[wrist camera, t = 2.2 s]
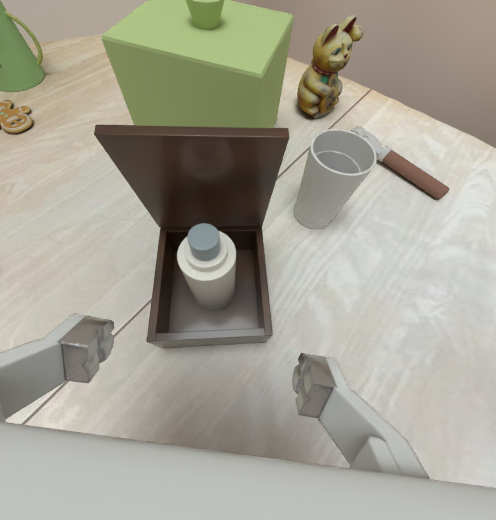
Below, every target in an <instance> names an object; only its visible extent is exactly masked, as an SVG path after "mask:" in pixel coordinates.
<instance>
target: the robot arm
mask: <svg viewBox="0 0 496 520" xmlns="http://www.w3.org/2000/svg"><path fill="white" fill-rule="evenodd" d="M113 329H114V322H113V321H112V320H107V319H102V318H97V317H92V316H85V315H80V314H72V315H70V316H69V317H68V318H67V319H66V320H65V321H63V322H62V323H61V324H60V325H59V326H57V327H56V328H55V329H54V330H53V331H52V332H50V333H49V334H48V335H47V336H46V337H45V338H43V339H42V340H39V339H37V340H34V341H31V342H29V343H26V344H23V345H20V346H18V347H15V348H12V349H9V350H7V351H4V352H1V353H0V520H496V488H492V487H484V486H477V485H469V484H462V483H454V482H447V481H439V480H432V479H430V478H429V477H428V475H427V473H426V471H425V470H424V468H423V466H422V464H421V463H420V461H419V459H418V457H417V456H416V454H415V452H414V450H413V449H412V447H411V445H410V443H409V442H408V440H407V439H405V438H404V437H403V436H402V435H401V434H400V433H399V432H398V431H397V430H396V429H395V428H394V427H393V426H391V425H390V424H389V423H388V422H387V421H386V420H385V419H384V418H383V417H382V416H381V415H380V414H378V413H377V412H376V411H375V410H374V409H373V408H372V407H371V406H370V405H369V404H368V403H367V402H366V401H364V400H363V399H362V398H361V397H360V396H359V395H358V394H357V393H356V392H355V391H354V390H350V388H349V386H348V384H347V382H346V380H345V377H344V375H343V373H342V371H341V369H340V366H339V364H338V362H337V360H336V359H335V358H331V357H325V356H317V355H311V354H305V353H301V354H300V356H299V359H298V361H299V365H298V366H296V367H295V369H294V372H293V379H292V381H293V389H294V391H295V392H296V393H297V394H298V395H297V397H296V404H297V409H298V414H299V415H303V416H308V417H314V418H319V419H318V420H319V421H320V422H321V424H322V425H323V427H324V428H325V430H326V431H327V432H328V434H329V435H330V437H331V438H332V440H333V441H334V442H335V444H336V445H337V447H338V448H339V450H340V451H341V452H342V454H343V455H344V457H345V458H346V460H347V461H348V462H349V464H350V465H351V466H350V468H342V467H335V466H327V465H320V464H313V463H305V462H298V461H290V460H283V459H275V458H267V457H260V456H252V455H245V454H237V453H230V452H222V451H214V450H207V449H200V448H192V447H185V446H177V445H170V444H163V443H155V442H148V441H140V440H133V439H126V438H118V437H111V436H103V435H96V434H88V433H81V432H73V431H66V430H58V429H51V428H43V427H36V426H28V425H21V424H14V423H6V420H5V419H7V418H8V417H10V416H11V415H13V414H14V413H16V412H18V411H19V410H21V409H22V408H24V407H26V406H27V405H29V404H30V403H32V402H34V401H35V400H37V399H38V398H40V397H42V396H43V395H45V394H46V393H48V392H50V391H51V390H53V389H54V388H56V387H57V386H59V385H61V384H62V383H64V382H65V380H66V381H74V382H82V383H89V382H90V381H91V380H92V378H93V377H94V376H95V374H96V373H97V371H98V370H99V363H101V362H103V361H105V360H106V359H107V358H108V356H109V355H110V352H111V350H112V348H113V344H114V336H113V335H112V334H111V332H112V330H113Z"/></svg>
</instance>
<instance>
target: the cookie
mask: <svg viewBox="0 0 496 520" xmlns="http://www.w3.org/2000/svg"><path fill="white" fill-rule="evenodd" d="M11 106H12V101H10V100H4V101H0V127H2V129H3V130H4V131H6V132H8V133H19V132H22V131H24V130H26V129H28V128H29V127H30V126H31V125H32V124H33V120H32V119H31V118H30V117H29V116H28V115H26V114H27V113H29V112H30V108H29V107H27V106H22V107H17V108H14V109H11Z"/></svg>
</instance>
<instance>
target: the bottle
mask: <svg viewBox="0 0 496 520" xmlns="http://www.w3.org/2000/svg"><path fill="white" fill-rule="evenodd" d="M177 260H178V264H179V266H180V268H181V270H182V272H183V275H184V277H185V279H186V281H187V283H188V285H189V287H190V289H191V291H192V293H193V296H194V298H195V300H196V302H197V303H198V304H199V305H200V306H201V307H203V308H205V309H207V310H220V309H222V308H224V307H226V306H227V305H228V304H229V303H230V302H231V301H232V299H233V297H234V294H235V271H236V249H235V246H234V243H233V242H232V240H231V239H230V238H229V237H228V236H227V235H226V234H224V233H222V232H220V231H218V230H217V229H216V228H215V227H214V226H212V225H210V224H206V223H202V224H198V225H195V226H194V227H192V228H191V229H190V231H189V233H188V236H187V237H186V238H185V239H184V240H183V241H182V243H181V244H180V246H179V249H178V253H177Z"/></svg>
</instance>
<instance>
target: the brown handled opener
mask: <svg viewBox="0 0 496 520" xmlns="http://www.w3.org/2000/svg"><path fill="white" fill-rule="evenodd" d="M351 132H355V133H356V134H358V135H360V136H362V137H363V138H365V139H366V140H367V141H368V142H369V143H370V144H371V145H372V146H373V148H374V149H375V151H376V154H378V157H377V160H379V161H380V162H383V163H385V164H386V165H388V166H389V167H391V168H392V169H394V170H395V171H396V172H398V173H399V174H401V175H402V176H404V177H405V178H407V179H408V180H410V181H411V182H413V183H414V184H415V185H417V186H418V187H420V188H421V189H423V190H424V191H426V192H427V193H429V194H430V195H432V196H433V197H435V198H436V199H440V198H442V197H443V196H444V195H446V194H447V193H448V191H449V188H448V187H447V186H446V185H444V184H443V183H441V182H439V181H438V180H436V179H435V178H433V177H432V176H430V175H429V174H427V173H426V172H424V171H423V170H421V169H420V168H418V167H417V166H415V165H414V164H412V163H411V162H409V161H408V160H406V159H405V158H403V157H402V156H400V155H399V154H397V153H396V152H394V151H393V150H392V149H391V148H390V147H388V146H386V147H385V148H382V147H381V144H380V142H379V140H378V139H377V138H376V137H375V136H374V135H372V134H371V133H369V132H367V131H365V130H364V128H362V127H361V126H357V127H355V128H354V129H352V130H351Z"/></svg>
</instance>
